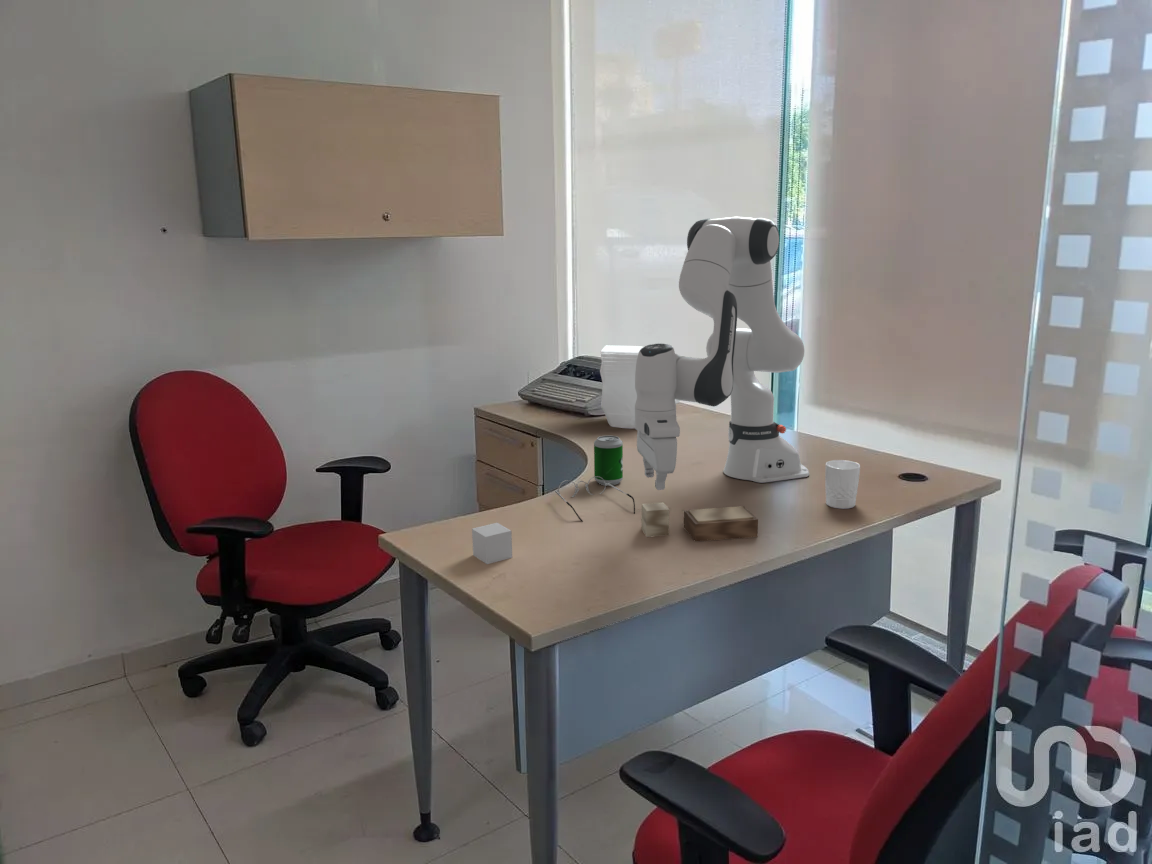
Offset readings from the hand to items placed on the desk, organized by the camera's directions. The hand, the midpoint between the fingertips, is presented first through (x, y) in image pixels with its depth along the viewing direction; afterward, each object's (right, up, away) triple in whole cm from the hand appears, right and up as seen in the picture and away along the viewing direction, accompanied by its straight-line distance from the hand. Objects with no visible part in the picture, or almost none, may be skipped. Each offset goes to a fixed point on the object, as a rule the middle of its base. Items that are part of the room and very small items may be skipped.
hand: (654, 482), depth 186 cm
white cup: (+46, -7, +19) cm, 51 cm away
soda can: (-9, -2, +39) cm, 40 cm away
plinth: (+15, -11, +2) cm, 19 cm away
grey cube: (-34, -15, -9) cm, 39 cm away
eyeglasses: (-13, -8, +21) cm, 26 cm away
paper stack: (+3, +13, +100) cm, 101 cm away
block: (0, -11, +3) cm, 12 cm away
